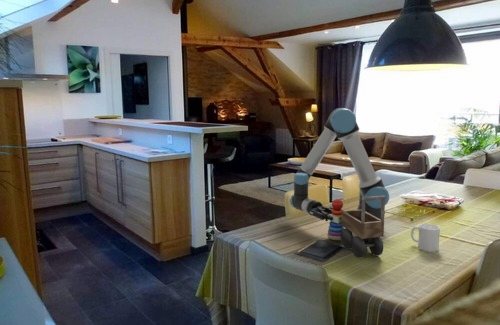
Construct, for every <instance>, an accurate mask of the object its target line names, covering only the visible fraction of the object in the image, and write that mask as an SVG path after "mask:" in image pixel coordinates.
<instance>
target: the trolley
mask: <svg viewBox="0 0 500 325" xmlns="http://www.w3.org/2000/svg"><path fill="white" fill-rule="evenodd" d="M385 199H386V197H385V196H373V197H362V199H361V200H362V209H361V210H357V209H354V210H353V209H352V210H344V211H341V225H342V226H343V227H344V229H342V231H341V240H340V241H341V244H342V247H344V249H345V250H352V251H353V255H354V256H355V257H356V258H358V259H359V258H360V259H361V258H364V257H366V254H367V253H366V252H367V248H369V251H370V252H371V254H372V255H374V256H381V255H382V254H383V251H384V241H383V240H382V237H384V236H385V235H384V233H385V232H384V231H385V214H386V213H385V210H386V205H385ZM373 200H381V219H379V218H377V217H375V216H373V215H371V214H369V213H367V212H365V201H373Z"/></svg>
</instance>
